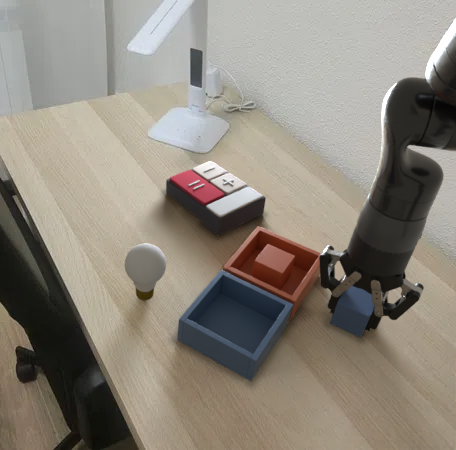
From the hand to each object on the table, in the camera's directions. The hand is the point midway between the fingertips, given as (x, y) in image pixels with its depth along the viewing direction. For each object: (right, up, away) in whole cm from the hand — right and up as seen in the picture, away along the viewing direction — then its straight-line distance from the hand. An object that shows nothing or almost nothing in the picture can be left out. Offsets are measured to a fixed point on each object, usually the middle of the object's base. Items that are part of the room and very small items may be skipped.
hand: (351, 318), depth 80 cm
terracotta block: (-11, +5, +5) cm, 13 cm away
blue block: (0, 0, 0) cm, 1 cm away
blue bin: (-18, -2, -2) cm, 18 cm away
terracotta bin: (-11, +5, +6) cm, 13 cm away
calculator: (-18, +17, +20) cm, 32 cm away
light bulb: (-30, +3, +3) cm, 30 cm away
